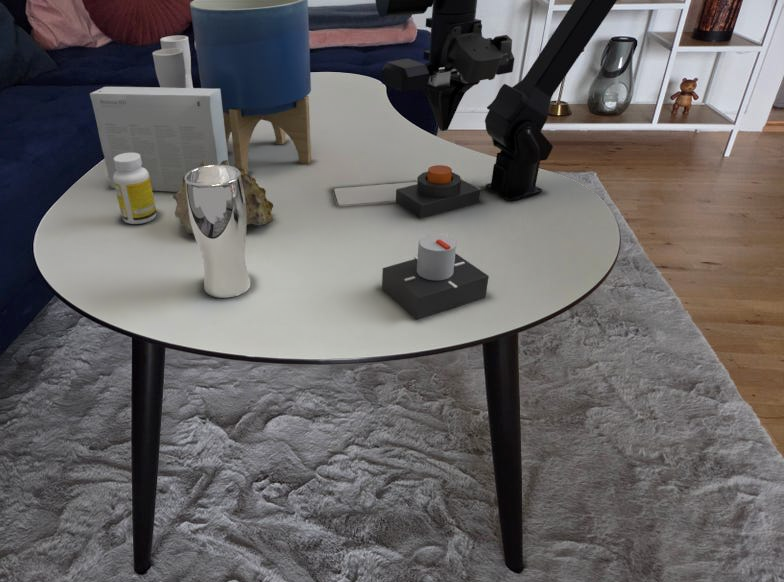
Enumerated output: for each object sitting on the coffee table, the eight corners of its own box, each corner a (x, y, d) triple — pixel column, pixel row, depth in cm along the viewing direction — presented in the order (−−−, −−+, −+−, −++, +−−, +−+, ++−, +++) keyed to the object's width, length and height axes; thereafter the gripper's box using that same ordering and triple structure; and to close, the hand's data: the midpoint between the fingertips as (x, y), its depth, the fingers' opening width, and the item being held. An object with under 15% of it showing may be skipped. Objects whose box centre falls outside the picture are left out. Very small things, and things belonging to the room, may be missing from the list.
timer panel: (445, 268, 84) (447, 246, 82) (487, 298, 78) (490, 275, 76) (380, 287, 81) (381, 265, 79) (418, 320, 74) (420, 298, 72)
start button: (441, 174, 100) (442, 163, 99) (455, 181, 97) (456, 170, 96) (422, 178, 99) (423, 168, 98) (436, 186, 96) (437, 175, 95)
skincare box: (233, 183, 110) (221, 87, 100) (222, 196, 106) (209, 97, 96) (124, 176, 115) (103, 84, 105) (109, 188, 111) (86, 93, 101)
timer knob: (409, 268, 78) (411, 236, 76) (439, 259, 80) (442, 228, 77) (430, 284, 75) (433, 251, 72) (460, 274, 76) (464, 242, 74)
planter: (192, 171, 116) (167, 8, 100) (240, 137, 130) (224, -11, 113) (289, 182, 109) (278, 10, 93) (328, 145, 123) (324, -10, 107)
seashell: (174, 228, 100) (156, 168, 93) (259, 200, 103) (248, 140, 97) (194, 260, 92) (175, 197, 85) (285, 229, 95) (274, 165, 89)
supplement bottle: (163, 212, 102) (151, 152, 96) (146, 226, 98) (132, 164, 92) (134, 209, 103) (120, 149, 98) (116, 223, 99) (101, 161, 94)
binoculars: (196, 155, 122) (181, 54, 111) (168, 157, 122) (150, 56, 111) (202, 127, 136) (189, 34, 125) (176, 129, 136) (161, 36, 125)
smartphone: (331, 187, 106) (420, 180, 107) (331, 191, 107) (419, 184, 107) (337, 206, 100) (430, 198, 101) (337, 210, 101) (430, 202, 101)
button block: (452, 187, 104) (454, 164, 102) (479, 203, 99) (482, 178, 97) (395, 202, 101) (396, 178, 99) (420, 218, 96) (422, 193, 93)
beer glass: (202, 274, 85) (184, 166, 76) (253, 270, 86) (242, 161, 76) (199, 302, 80) (180, 188, 71) (254, 297, 80) (242, 183, 71)
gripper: (430, 29, 75) (421, 158, 85) (552, 10, 81) (530, 133, 91) (381, 15, 83) (377, 135, 93) (495, 0, 89) (481, 114, 99)
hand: (443, 129), depth 94 cm, fingers closed
